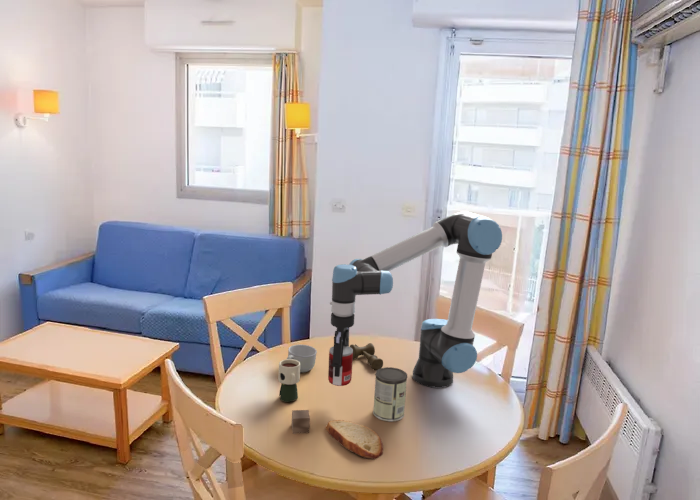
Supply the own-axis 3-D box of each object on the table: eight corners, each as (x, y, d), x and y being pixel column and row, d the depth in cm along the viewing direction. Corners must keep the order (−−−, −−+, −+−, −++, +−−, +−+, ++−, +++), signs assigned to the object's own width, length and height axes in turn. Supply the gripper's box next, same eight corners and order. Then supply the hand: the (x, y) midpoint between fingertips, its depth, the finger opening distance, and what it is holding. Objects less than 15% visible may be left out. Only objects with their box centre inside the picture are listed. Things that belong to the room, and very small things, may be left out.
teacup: (303, 360, 219) (304, 341, 217) (321, 370, 211) (322, 350, 210) (274, 370, 209) (275, 350, 208) (293, 380, 202) (293, 359, 200)
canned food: (352, 376, 187) (354, 346, 184) (350, 387, 179) (351, 355, 176) (329, 374, 187) (331, 344, 185) (326, 385, 179) (327, 353, 177)
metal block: (307, 424, 173) (308, 409, 172) (309, 433, 168) (309, 418, 167) (291, 425, 172) (292, 410, 171) (292, 433, 167) (293, 418, 166)
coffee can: (377, 403, 188) (380, 364, 185) (407, 410, 185) (410, 370, 182) (368, 417, 179) (371, 377, 176) (399, 424, 176) (403, 383, 173)
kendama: (366, 373, 212) (343, 352, 229) (388, 371, 216) (364, 350, 234) (368, 359, 211) (345, 339, 228) (389, 356, 215) (365, 337, 232)
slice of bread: (326, 423, 175) (327, 412, 174) (383, 428, 173) (384, 417, 173) (318, 456, 157) (319, 444, 156) (382, 462, 156) (383, 450, 155)
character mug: (274, 393, 191) (275, 357, 189) (294, 390, 194) (295, 355, 191) (282, 408, 182) (283, 371, 179) (303, 405, 184) (304, 368, 181)
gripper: (338, 302, 189) (335, 364, 193) (323, 322, 169) (321, 391, 173) (359, 304, 187) (356, 367, 192) (348, 325, 167) (344, 394, 172)
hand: (339, 378), depth 183 cm, fingers closed on canned food, 8 cm apart
